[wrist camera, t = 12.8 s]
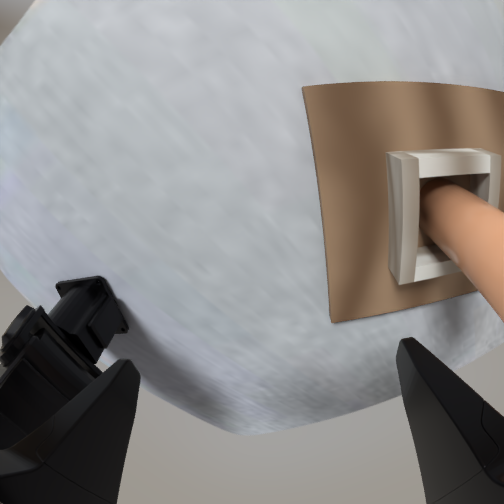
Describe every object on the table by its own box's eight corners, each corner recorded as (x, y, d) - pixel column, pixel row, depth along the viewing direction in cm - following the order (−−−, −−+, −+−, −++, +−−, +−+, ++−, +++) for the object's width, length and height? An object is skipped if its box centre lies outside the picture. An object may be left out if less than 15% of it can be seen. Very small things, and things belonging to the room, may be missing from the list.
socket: (329, 315, 24) (336, 344, 21) (301, 87, 16) (308, 83, 13) (492, 278, 22) (510, 298, 19) (505, 93, 13) (533, 97, 10)
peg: (429, 244, 19) (525, 369, 8) (403, 203, 18) (523, 327, 7) (467, 210, 18) (580, 310, 6) (445, 165, 16) (585, 252, 5)
